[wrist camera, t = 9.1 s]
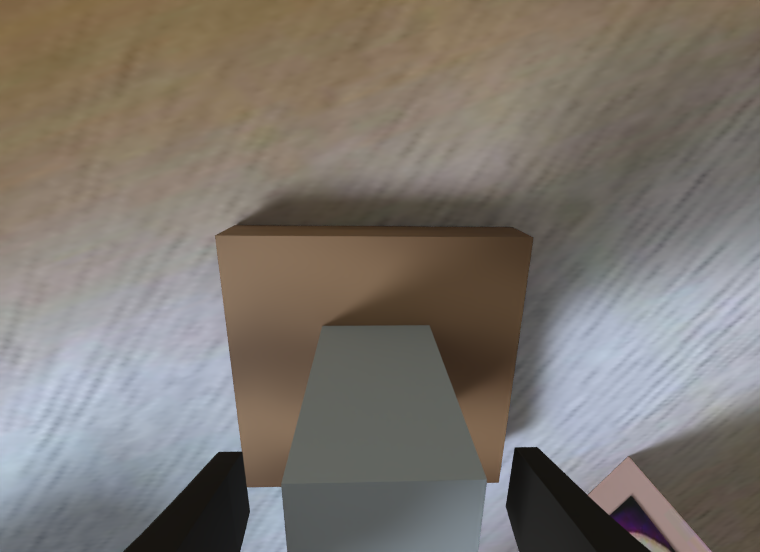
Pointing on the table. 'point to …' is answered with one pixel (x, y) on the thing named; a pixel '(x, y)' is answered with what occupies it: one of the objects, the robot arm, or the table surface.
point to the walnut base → (368, 318)
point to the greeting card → (645, 511)
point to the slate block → (381, 449)
